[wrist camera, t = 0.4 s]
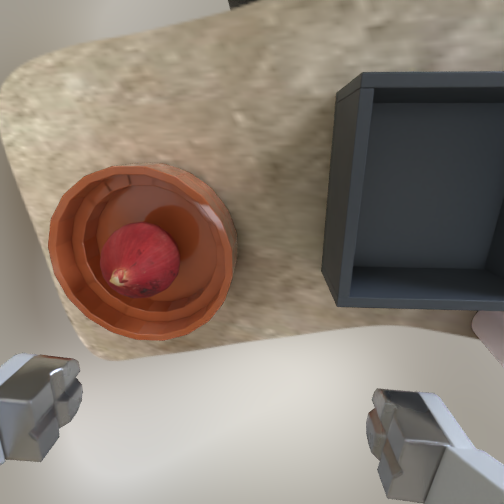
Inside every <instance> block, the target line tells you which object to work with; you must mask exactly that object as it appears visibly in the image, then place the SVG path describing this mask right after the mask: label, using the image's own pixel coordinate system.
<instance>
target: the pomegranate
mask: <svg viewBox="0 0 504 504" xmlns="http://www.w3.org/2000/svg"><path fill="white" fill-rule="evenodd" d="M179 266H180V253H179V249H178V245H177V243H176V242H175V240H174V239H173V237H172V236H171V234H170V233H168V232H167V231H166V230H164V229H163V228H161V227H160V226H158V225H155V224H151V223H148V222H137V223H130V224H127V225H125V226H123V227H121V228H120V229H118V230H116V231H115V232H113V234H112V235H111V236H110V237H109V238H108V240H107V241H106V243H105V244H104V246H103V248H102V251H101V258H100V268H101V271H102V275H103V278H104V279H105V280H106V282H107V283H108V285H109V286H110V287H111V288H112V289H114V290H115V291H116V292H118V293H119V294H121V295H124V296H127V297H130V298H148V297H152V296H154V295H156V294H158V293H160V292H162V291H164V290H166V289H167V288H168V287H169V286H170V285H171V284H172V282H173V281H174V279H175V278H176V277H177V275H178V273H179Z"/></svg>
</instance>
